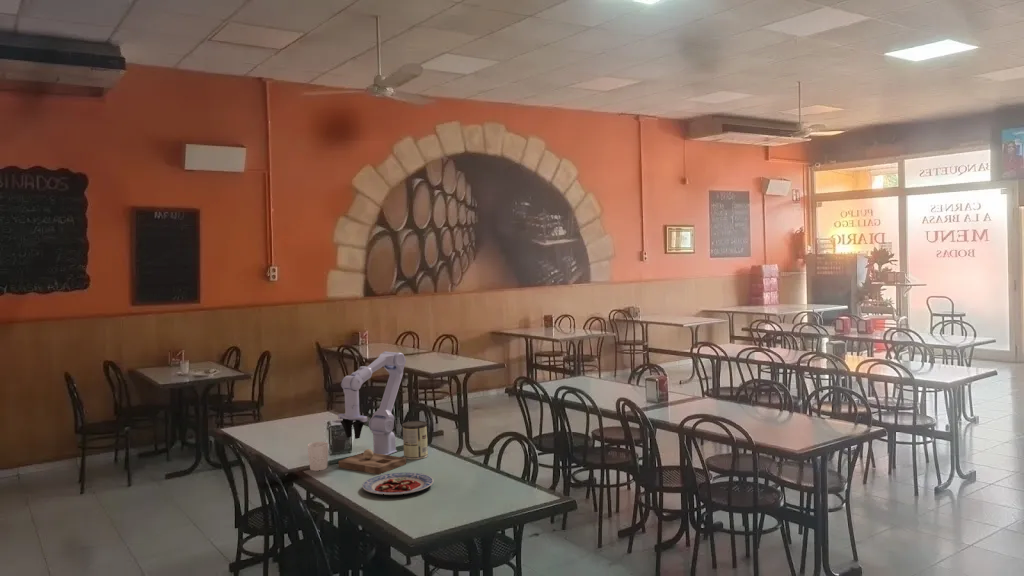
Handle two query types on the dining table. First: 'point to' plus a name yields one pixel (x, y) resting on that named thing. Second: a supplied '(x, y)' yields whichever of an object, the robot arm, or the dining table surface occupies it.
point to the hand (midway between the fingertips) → (353, 437)
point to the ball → (368, 454)
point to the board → (372, 463)
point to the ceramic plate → (397, 483)
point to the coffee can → (415, 440)
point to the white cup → (318, 455)
